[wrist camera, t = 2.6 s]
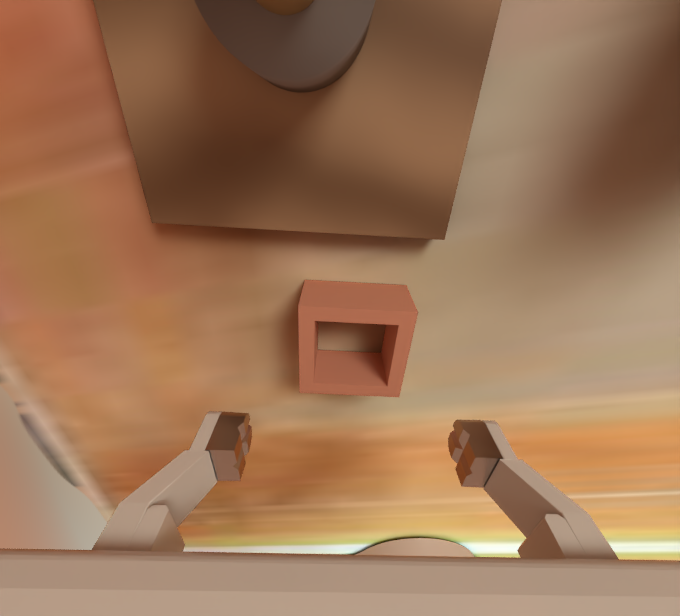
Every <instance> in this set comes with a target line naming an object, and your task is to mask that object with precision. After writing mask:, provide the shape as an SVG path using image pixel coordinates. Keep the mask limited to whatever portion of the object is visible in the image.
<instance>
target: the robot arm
mask: <svg viewBox="0 0 680 616" xmlns="http://www.w3.org/2000/svg"><path fill="white" fill-rule="evenodd" d="M249 421H250V415H249V413H235V412H216V411H209V412H208V413H207V414H206V416H205V418H204V420H203V422H202V424H201V426H200V428H199V430H198V432H197V434H196V436H195V439H194V441H193V443H192V445H191V447H190V449H189V450H184V451H183V452H182V453H181V454H179V455H178V456H177V457H176V458H175V459H173V460H172V461H171V462H170V463H168V464H167V465H166V466H165V467H163V468H162V469H161V470H160V471H158V472H157V473H156V474H155V475H154V476H152V477H151V478H150V479H149V480H147V481H146V482H145V483H144V484H142V485H141V486H140V487H139V488H137V489H136V490H135V491H134V492H133V493H131V494H130V495H129V496H128V497H126V498H125V499H124V500H123V501H121V502H120V503H119V505H118V507H117V508H116V510H115V512H114V513H113V515H112V517H111V518H110V520H109V522H108V523H107V525H106V527H105V529H104V530H103V532H102V533H101V535H100V537H99V538H98V540H97V542H96V543H95V545H94V547H93V548H92V550H55V549H0V616H680V561H671V560H619V559H618V557H617V556H616V554H615V553H614V551H613V550H612V548H611V547H610V545H609V544H608V542H607V541H606V539H605V538H604V536H603V535H602V533H601V532H600V530H599V529H598V527H597V526H596V524H595V523H594V521H593V519H592V518H591V516H590V515H589V514H588V513H587V512H586V511H585V510H583V509H582V508H581V507H580V506H578V505H577V504H576V503H575V502H573V501H572V500H571V499H570V498H568V497H567V496H566V495H565V494H563V493H562V492H561V491H560V490H559V489H557V488H556V487H555V486H554V485H552V484H551V483H550V482H549V481H547V480H546V479H545V478H544V477H542V476H541V475H540V474H539V473H538V472H536V471H535V470H534V469H533V468H531V467H530V466H529V465H528V464H526V463H525V462H524V461H523V460H518V459H517V457H516V455H515V453H514V452H513V450H512V448H511V446H510V445H509V443H508V441H507V439H506V437H505V436H504V434H503V432H502V430H501V429H500V427H499V425H498V423H497V422H495V421H481V420H456V421H455V422H454V424H453V427H454V431H452V432H451V433H450V435H449V438H448V447H449V452H450V455H451V458H452V459H453V460H454V461H455V462H456V463H457V466H456V472H457V475H458V478H459V480H460V483H461V486H464V487H482V488H484V490H485V491H486V492H487V493H488V494H489V496H490V497H491V498H492V499H493V500H494V501H495V502H496V503H497V505H498V506H499V507H500V508H501V509H502V510H503V511H504V513H505V514H506V515H507V516H508V517H509V518H510V519H511V520H512V522H513V523H514V524H515V525H516V526H517V527H518V528H519V530H520V531H521V532H522V533H523V534H524V535H525V536H526V539H525V541H524V542H523V543H522V544H521V546H520V547H519V549H518V553H519V555H520V557H521V558H505V557H475V556H474V555H473V554H472V553H471V551H469V550H468V549H467V548H465V547H464V546H462V545H459V544H457V543H454V542H450V541H446V540H440V539H431V538H409V539H400V540H394V541H389V542H384V543H381V544H378V545H375V546H372V547H370V548H368V549H366V550H364V551H362V552H360V553H358V554H356V555H340V554H283V553H226V552H183V549H184V546H185V544H184V541H183V539H182V537H181V535H180V533H179V531H178V528H177V527H178V526H179V525H180V524H181V523H182V522H183V521H184V519H185V518H186V517H187V516H188V515H189V514H190V513H191V511H192V510H193V509H194V508H195V507H196V506H197V505H198V504H199V502H200V501H201V500H202V499H203V498H204V497H205V496H206V494H207V493H208V492H209V491H210V490H211V489H212V488H213V487H214V485H215V484H216V483H217V481H241V477H242V474H243V470H244V467H245V457H244V456H245V455H246V454H247V453H248V452H249V449H250V445H251V439H252V428H251V426H250V425H249Z"/></svg>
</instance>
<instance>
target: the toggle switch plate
mask: <svg viewBox="0 0 680 616" xmlns="http://www.w3.org/2000/svg"><path fill="white" fill-rule="evenodd" d="M93 2H94V6H95V9H96V13H97V17H98V21H99V24H100V28H101V32H102V36H103V40H104V43H105V47H106V51H107V55H108V59H109V62H110V66H111V70H112V74H113V77H114V81H115V85H116V89H117V93H118V96H119V100H120V104H121V108H122V111H123V115H124V119H125V123H126V127H127V130H128V134H129V138H130V142H131V145H132V149H133V153H134V157H135V161H136V164H137V168H138V172H139V176H140V180H141V183H142V187H143V191H144V195H145V198H146V202H147V206H148V210H149V214H150V217H151V221H152V223H164V224H181V225H199V226H216V227H233V228H251V229H268V230H285V231H303V232H320V233H337V234H354V235H372V236H389V237H406V238H424V239H441V240H444V239H445V235H446V231H447V227H448V222H449V218H450V214H451V210H452V206H453V202H454V198H455V193H456V189H457V185H458V181H459V177H460V173H461V168H462V164H463V160H464V156H465V152H466V148H467V144H468V139H469V135H470V131H471V127H472V123H473V119H474V114H475V110H476V106H477V102H478V98H479V94H480V90H481V85H482V81H483V77H484V73H485V69H486V65H487V61H488V56H489V52H490V48H491V44H492V40H493V36H494V31H495V27H496V23H497V19H498V15H499V11H500V7H501V2H502V0H93Z"/></svg>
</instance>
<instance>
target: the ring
mask: <svg viewBox="0 0 680 616" xmlns="http://www.w3.org/2000/svg"><path fill="white" fill-rule="evenodd" d="M417 314H418V311H417V309H416V307H415V304H414V302H413V300H412V297H411V295H410V293H409V290H408V288H407V286H406V285H393V284H374V283H356V282H337V281H319V280H305V281H304V285H303V289H302V293H301V297H300V301H299V305H298V327H299V383H300V393H319V394H342V395H364V396H387V397H399V395H400V391H401V386H402V382H403V377H404V373H405V368H406V364H407V359H408V355H409V350H410V346H411V341H412V337H413V332H414V328H415V323H416V319H417ZM318 321H327V322H346V323H366V324H386V327H385V333H384V339H383V345H382V351H381V353H371V352H350V351H330V350H317V347H318Z"/></svg>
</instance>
